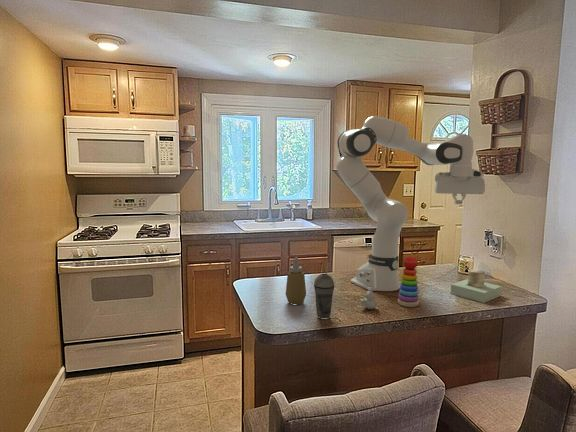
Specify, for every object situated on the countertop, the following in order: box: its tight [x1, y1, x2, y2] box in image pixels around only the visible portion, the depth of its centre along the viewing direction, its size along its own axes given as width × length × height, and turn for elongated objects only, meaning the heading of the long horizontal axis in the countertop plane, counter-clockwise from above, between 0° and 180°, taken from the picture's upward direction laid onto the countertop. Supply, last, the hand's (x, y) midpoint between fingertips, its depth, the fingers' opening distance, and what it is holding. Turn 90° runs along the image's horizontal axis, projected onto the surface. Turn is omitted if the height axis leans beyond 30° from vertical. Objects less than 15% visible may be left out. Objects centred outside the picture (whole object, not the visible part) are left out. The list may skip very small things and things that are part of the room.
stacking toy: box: [397, 256, 420, 308], centre depth 151 cm, size 8×8×19 cm
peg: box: [467, 269, 486, 289], centre depth 163 cm, size 4×4×10 cm
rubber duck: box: [360, 289, 378, 310], centre depth 146 cm, size 5×7×8 cm
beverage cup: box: [313, 261, 335, 319], centre depth 137 cm, size 7×7×20 cm
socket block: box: [450, 278, 502, 304], centre depth 163 cm, size 14×14×4 cm
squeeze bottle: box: [285, 257, 307, 305], centre depth 151 cm, size 8×8×18 cm
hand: (458, 204), depth 172 cm, fingers closed
